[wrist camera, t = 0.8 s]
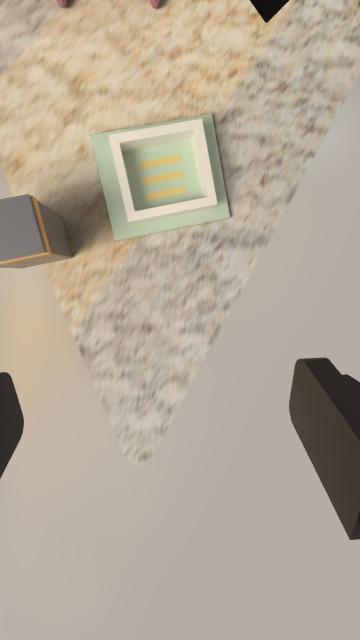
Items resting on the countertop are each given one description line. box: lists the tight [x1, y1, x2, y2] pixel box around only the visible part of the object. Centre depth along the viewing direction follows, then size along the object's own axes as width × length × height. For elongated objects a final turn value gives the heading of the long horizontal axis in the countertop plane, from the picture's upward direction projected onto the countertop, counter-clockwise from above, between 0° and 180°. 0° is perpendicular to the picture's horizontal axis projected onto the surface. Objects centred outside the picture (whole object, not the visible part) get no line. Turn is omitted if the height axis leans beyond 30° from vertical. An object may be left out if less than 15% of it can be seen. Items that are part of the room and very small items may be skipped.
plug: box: [0, 194, 72, 268], centre depth 28 cm, size 4×5×10 cm
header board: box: [90, 114, 230, 241], centre depth 32 cm, size 10×12×3 cm
